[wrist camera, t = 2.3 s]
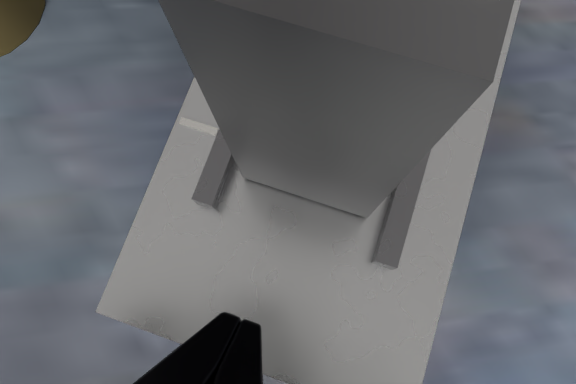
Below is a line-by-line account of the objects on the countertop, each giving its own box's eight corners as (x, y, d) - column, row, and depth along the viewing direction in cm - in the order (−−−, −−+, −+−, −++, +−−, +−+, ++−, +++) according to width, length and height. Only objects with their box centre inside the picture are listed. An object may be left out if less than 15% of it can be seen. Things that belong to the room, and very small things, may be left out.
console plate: (403, 420, 16) (418, 438, 14) (106, 311, 17) (82, 313, 15) (521, -28, 20) (544, -62, 18) (274, -94, 21) (272, -132, 19)
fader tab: (367, 218, 17) (498, 75, 6) (242, 177, 17) (145, -26, 6) (389, 146, 17) (546, -106, 6) (268, 108, 18) (221, -186, 7)
